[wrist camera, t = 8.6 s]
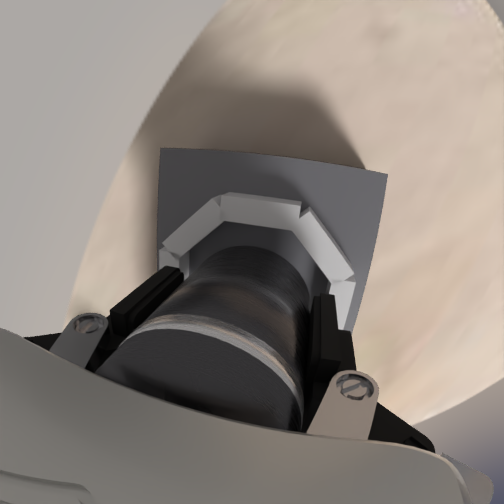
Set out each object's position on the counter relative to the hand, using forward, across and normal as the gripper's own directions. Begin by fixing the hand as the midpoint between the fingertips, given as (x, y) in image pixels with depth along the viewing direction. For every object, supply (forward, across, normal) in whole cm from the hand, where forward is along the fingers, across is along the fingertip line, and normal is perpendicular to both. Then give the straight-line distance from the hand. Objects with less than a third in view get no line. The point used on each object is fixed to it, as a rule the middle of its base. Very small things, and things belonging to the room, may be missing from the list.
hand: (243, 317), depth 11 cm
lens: (+1, 0, 0) cm, 1 cm away
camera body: (+8, 0, +2) cm, 8 cm away
